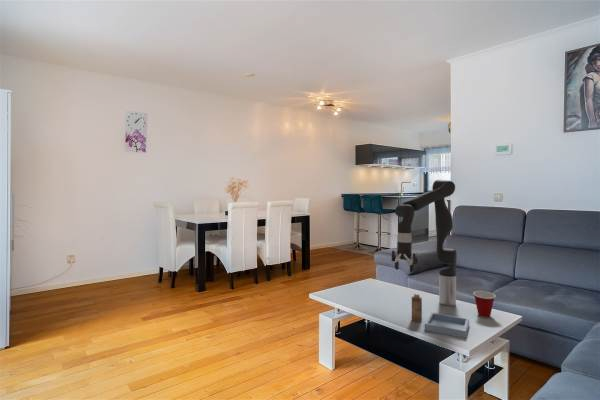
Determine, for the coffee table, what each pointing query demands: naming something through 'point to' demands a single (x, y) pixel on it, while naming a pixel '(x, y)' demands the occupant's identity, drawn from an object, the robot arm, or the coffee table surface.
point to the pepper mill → (416, 308)
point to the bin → (447, 325)
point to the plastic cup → (484, 302)
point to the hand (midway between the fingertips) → (404, 270)
